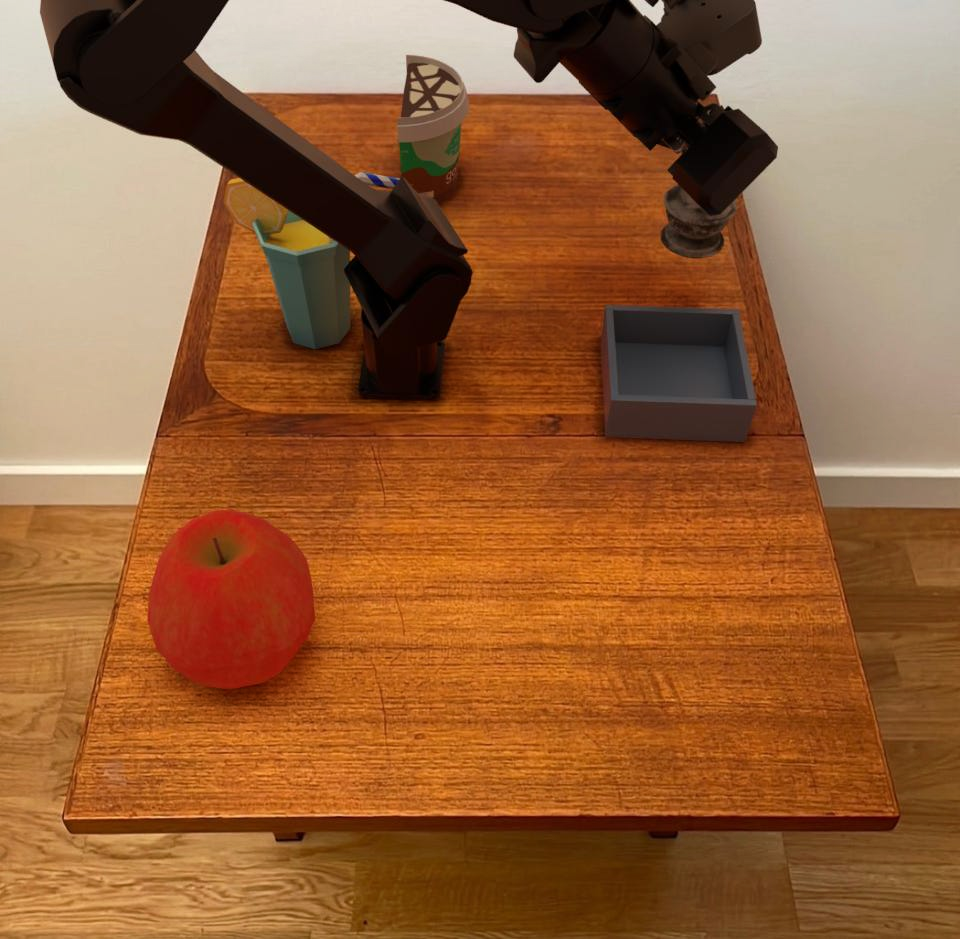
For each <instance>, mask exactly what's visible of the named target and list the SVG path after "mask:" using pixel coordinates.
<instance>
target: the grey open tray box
mask: <svg viewBox="0 0 960 939" xmlns="http://www.w3.org/2000/svg"><path fill="white" fill-rule="evenodd" d="M599 345H600V361H601V381H602V382H601V383H602V399H603V400H602V401H603V420H604V437H605V438H620V439H621V438H623V439H645V440H646V439H648V440H649V439H650V440H672V441H673V440H675V441H677V440H678V441H703V442H726V443H727V442H728V443H746V441H747V438H748V436H749V433H750V429H751V426H752V422H753V421H754V416H755V413H756V410H757V407H758V404H757V403H758V402H757V398H756V393H755V392H756V391H755V387H754V383H753V376H752V371H751V367H750V361H749V356H748V351H747V345H746V340H745V335H744V329H743V324H742V319H741V314H740V309H735V308H711V307H710V308H708V307H680V306H679V307H678V306H677V307H675V306H653V305H652V306H647V305H624V304H623V305H620V304H619V305H618V304H605V306H604V313H603V320H602V327H601V336H600V344H599Z"/></svg>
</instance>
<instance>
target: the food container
mask: <svg viewBox="0 0 960 939" xmlns="http://www.w3.org/2000/svg"><path fill="white" fill-rule="evenodd" d="M405 63H406V75H405V81H404V83H405V84H404V86H403V87H404V88H403V94H402V95H403V96H402V104H401V112H400V117H397V119H396V122H397V125H396V126H397V143H398V150H399V162H400V174H401V175H400V176H401V177H404V178H405V179H406V180H407V181H408V183H409V184H410V185H411V186H412V187H413V189H414V190H415V191H416V192H417V193H419V194H420V195H422V196H424V197H426V198H430V199H435V200H436V202H437V203H439V202H442V201H444V200H446V199H447V198H448V197H449V196H450V195H452V194H453V193H454V191H455V189H456V188H457V186H458V181H459V180H458V178H459V164H460V150H461V136H462V135H461V134H462V123H463V122H464V120H465V119H466V118H467V116H468V114H469V112H470V111H469V110H470V101H469V95H468V92H467V88H466V85H465V83H464V81H463V80H462V76H461V75H460V73H459V72H458V71H457V70H455V68H454V67H452V66H450V65H449V64H447V63H446V62H443V61H441V60H439V59H435V58H432V57H428V56H424V55H418V54H417V55H415V54H405ZM401 177H400V178H401Z"/></svg>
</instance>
